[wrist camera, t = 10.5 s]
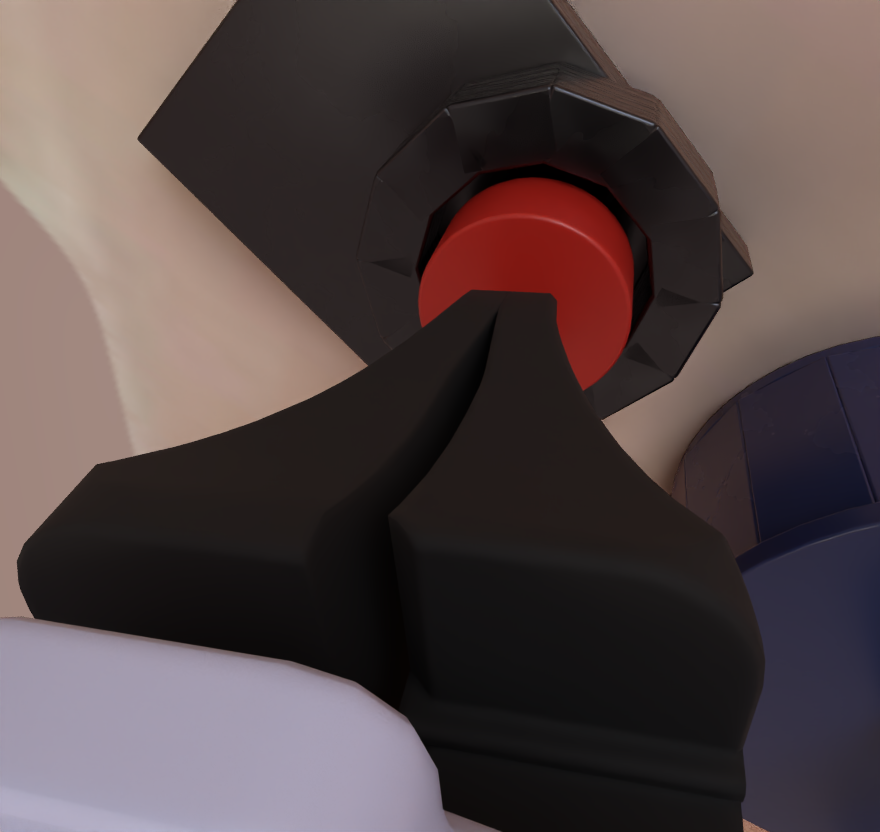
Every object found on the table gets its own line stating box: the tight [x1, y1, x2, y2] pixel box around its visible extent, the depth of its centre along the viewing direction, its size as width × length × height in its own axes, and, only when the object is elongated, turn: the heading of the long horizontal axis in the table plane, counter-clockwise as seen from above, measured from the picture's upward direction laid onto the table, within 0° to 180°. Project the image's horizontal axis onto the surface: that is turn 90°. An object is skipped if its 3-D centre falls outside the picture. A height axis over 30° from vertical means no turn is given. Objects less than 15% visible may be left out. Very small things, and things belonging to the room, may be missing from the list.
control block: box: [138, 0, 753, 420], centre depth 15 cm, size 10×8×3 cm
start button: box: [418, 177, 634, 390], centre depth 13 cm, size 4×4×2 cm
